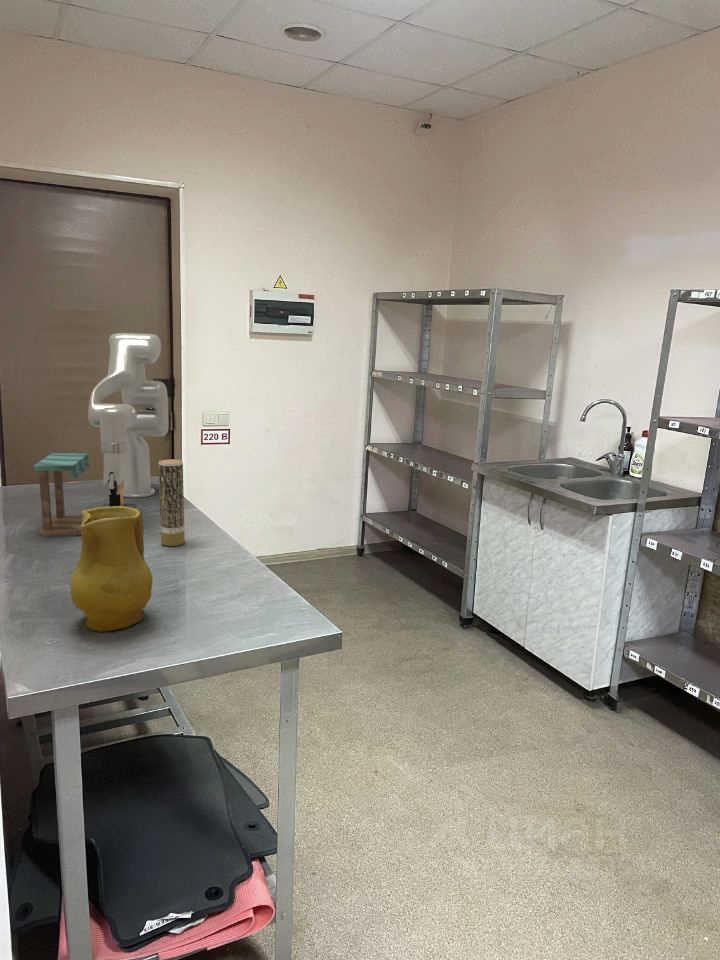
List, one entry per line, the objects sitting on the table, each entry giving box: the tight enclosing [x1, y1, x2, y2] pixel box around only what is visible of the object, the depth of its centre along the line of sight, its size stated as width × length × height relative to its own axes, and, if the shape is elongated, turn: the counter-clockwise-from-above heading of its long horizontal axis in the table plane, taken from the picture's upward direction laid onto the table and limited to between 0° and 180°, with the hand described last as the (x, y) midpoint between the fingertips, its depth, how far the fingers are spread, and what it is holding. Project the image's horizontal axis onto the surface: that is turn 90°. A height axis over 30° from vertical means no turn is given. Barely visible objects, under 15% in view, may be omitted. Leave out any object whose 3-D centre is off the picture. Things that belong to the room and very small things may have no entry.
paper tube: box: [158, 459, 185, 547], centre depth 200 cm, size 7×7×25 cm
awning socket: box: [33, 452, 137, 537], centre depth 212 cm, size 18×27×22 cm, turn 98°
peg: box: [114, 481, 124, 506], centre depth 213 cm, size 4×4×14 cm
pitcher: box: [69, 506, 153, 633], centre depth 149 cm, size 17×19×25 cm
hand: (116, 503), depth 214 cm, fingers closed on peg, 4 cm apart
